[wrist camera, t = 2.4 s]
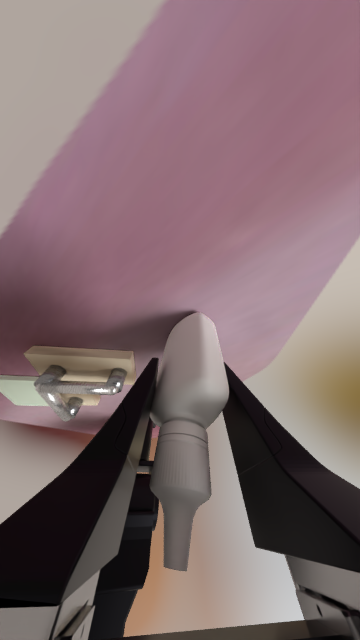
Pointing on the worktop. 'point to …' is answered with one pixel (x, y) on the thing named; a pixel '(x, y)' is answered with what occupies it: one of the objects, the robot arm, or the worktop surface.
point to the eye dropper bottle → (186, 428)
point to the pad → (21, 390)
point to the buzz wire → (79, 376)
